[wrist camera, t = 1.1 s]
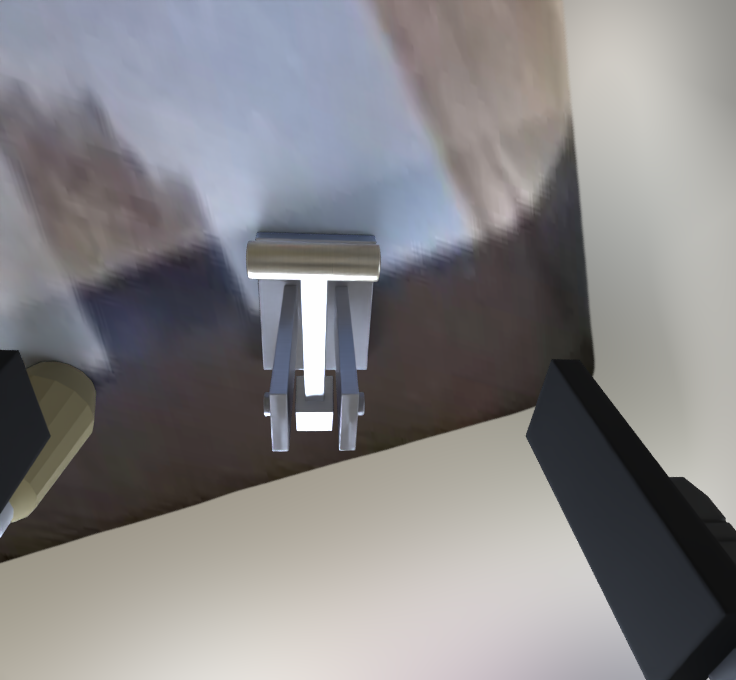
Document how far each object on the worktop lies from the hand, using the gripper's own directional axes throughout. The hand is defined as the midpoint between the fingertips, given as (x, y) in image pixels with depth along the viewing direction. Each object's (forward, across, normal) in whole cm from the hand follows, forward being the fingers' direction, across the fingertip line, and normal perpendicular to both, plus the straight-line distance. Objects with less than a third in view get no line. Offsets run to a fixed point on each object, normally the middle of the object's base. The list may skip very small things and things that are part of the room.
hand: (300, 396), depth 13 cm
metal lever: (+12, 0, -5) cm, 13 cm away
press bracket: (+26, 0, -11) cm, 28 cm away
